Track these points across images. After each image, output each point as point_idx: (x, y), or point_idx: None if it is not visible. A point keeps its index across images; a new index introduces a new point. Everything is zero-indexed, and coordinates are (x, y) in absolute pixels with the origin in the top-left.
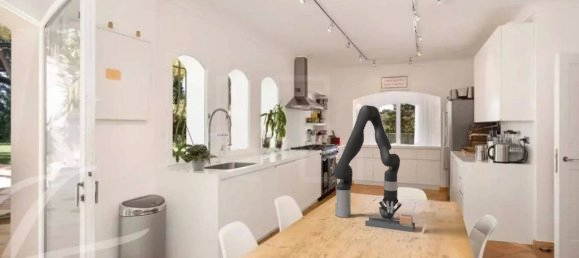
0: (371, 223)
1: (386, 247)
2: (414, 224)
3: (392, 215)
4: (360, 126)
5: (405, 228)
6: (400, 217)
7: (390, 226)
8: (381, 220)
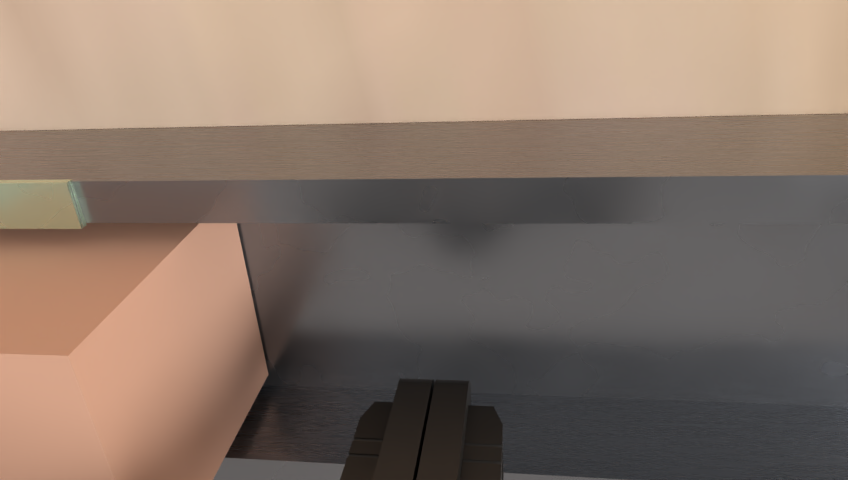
0: None
1: None
2: None
3: (344, 467)
4: None
5: (65, 160)
6: (54, 344)
7: (393, 155)
8: (669, 454)
